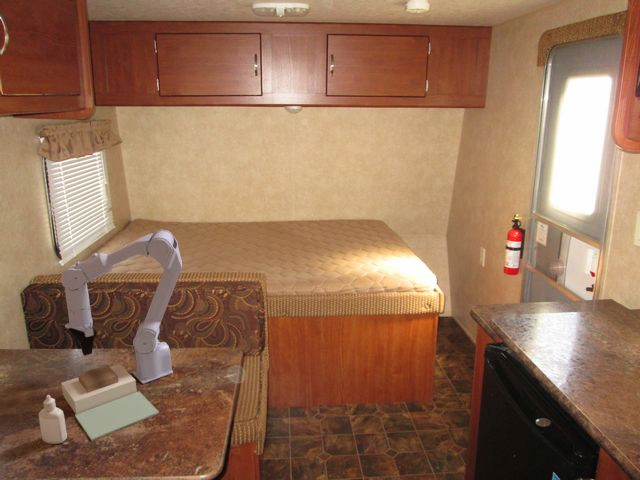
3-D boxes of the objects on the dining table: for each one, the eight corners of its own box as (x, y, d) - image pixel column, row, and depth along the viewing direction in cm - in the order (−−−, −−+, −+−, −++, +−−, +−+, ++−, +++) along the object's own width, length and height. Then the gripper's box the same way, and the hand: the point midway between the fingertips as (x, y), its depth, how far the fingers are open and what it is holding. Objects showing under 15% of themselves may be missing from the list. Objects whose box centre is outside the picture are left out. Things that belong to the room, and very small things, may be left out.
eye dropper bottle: (50, 449, 119) (43, 404, 116) (40, 439, 122) (33, 395, 119) (69, 439, 122) (62, 396, 119) (59, 430, 125) (52, 387, 122)
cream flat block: (120, 375, 151) (119, 363, 149) (136, 392, 142) (135, 380, 141) (63, 395, 140) (61, 382, 139) (76, 415, 132) (74, 401, 131)
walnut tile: (108, 371, 145) (107, 364, 145) (118, 382, 140) (117, 375, 139) (78, 380, 140) (77, 374, 140) (88, 392, 135) (87, 386, 134)
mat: (139, 392, 142) (139, 391, 142) (159, 413, 132) (159, 411, 132) (75, 416, 131) (74, 415, 131) (91, 441, 122) (91, 439, 121)
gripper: (56, 303, 145) (62, 346, 149) (71, 319, 134) (77, 364, 138) (82, 297, 149) (87, 339, 153) (98, 312, 139) (104, 356, 143)
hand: (84, 350), depth 146 cm, fingers open, 5 cm apart
